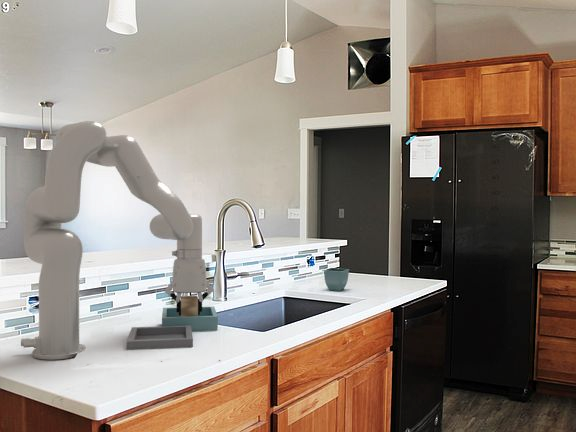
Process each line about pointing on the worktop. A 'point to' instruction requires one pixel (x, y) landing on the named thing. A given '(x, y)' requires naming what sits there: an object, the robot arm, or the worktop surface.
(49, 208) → the robot arm
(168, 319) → the tray
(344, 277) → the flower pot
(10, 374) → the worktop surface
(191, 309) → the oak block
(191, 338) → the bin
